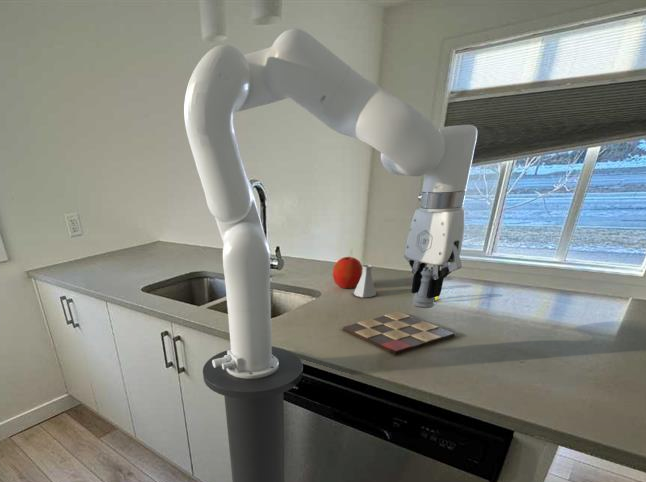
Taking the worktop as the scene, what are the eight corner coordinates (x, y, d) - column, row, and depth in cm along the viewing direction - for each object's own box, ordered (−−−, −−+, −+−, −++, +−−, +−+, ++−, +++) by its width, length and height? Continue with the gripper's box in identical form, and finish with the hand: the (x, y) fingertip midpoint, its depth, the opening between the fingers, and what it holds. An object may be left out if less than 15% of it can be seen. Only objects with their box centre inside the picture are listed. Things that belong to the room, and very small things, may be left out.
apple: (327, 289, 150) (329, 257, 144) (339, 282, 156) (341, 251, 150) (353, 292, 144) (356, 259, 138) (365, 285, 150) (368, 253, 144)
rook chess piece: (437, 308, 85) (444, 270, 81) (414, 308, 86) (420, 271, 82) (432, 302, 89) (438, 265, 85) (410, 302, 90) (416, 266, 86)
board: (395, 355, 99) (396, 350, 98) (342, 330, 115) (343, 326, 115) (454, 336, 105) (455, 332, 105) (396, 315, 122) (397, 311, 121)
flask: (367, 290, 144) (370, 262, 140) (380, 295, 138) (383, 266, 133) (349, 293, 143) (351, 265, 138) (361, 299, 137) (364, 269, 132)
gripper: (394, 201, 83) (383, 288, 92) (465, 206, 70) (444, 308, 79) (422, 197, 85) (409, 282, 94) (495, 201, 72) (472, 301, 81)
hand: (425, 293), depth 86 cm, fingers closed on rook chess piece, 3 cm apart
